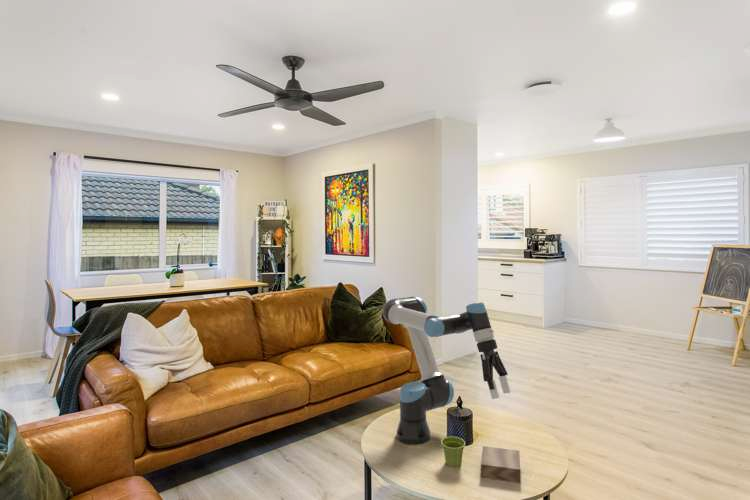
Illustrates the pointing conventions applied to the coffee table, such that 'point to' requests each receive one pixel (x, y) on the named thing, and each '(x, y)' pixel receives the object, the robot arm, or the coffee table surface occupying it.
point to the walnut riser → (500, 464)
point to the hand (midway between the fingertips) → (501, 395)
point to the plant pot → (453, 450)
